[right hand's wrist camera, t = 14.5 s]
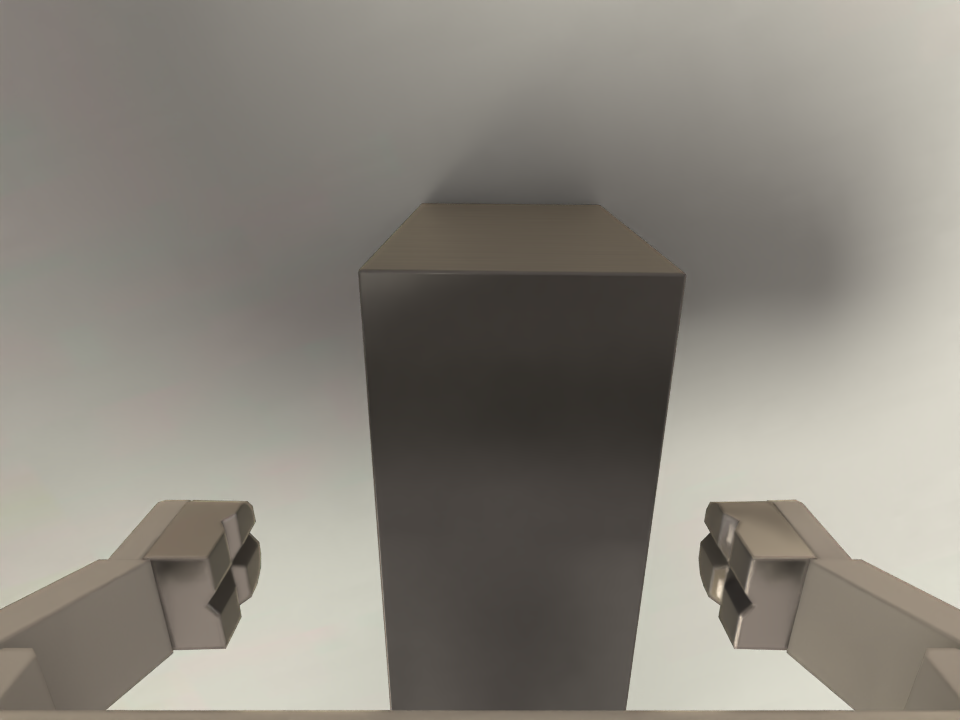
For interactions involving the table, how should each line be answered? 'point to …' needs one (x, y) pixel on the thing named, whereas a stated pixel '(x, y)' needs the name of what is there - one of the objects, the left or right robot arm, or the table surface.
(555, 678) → the bar
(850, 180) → the table surface
